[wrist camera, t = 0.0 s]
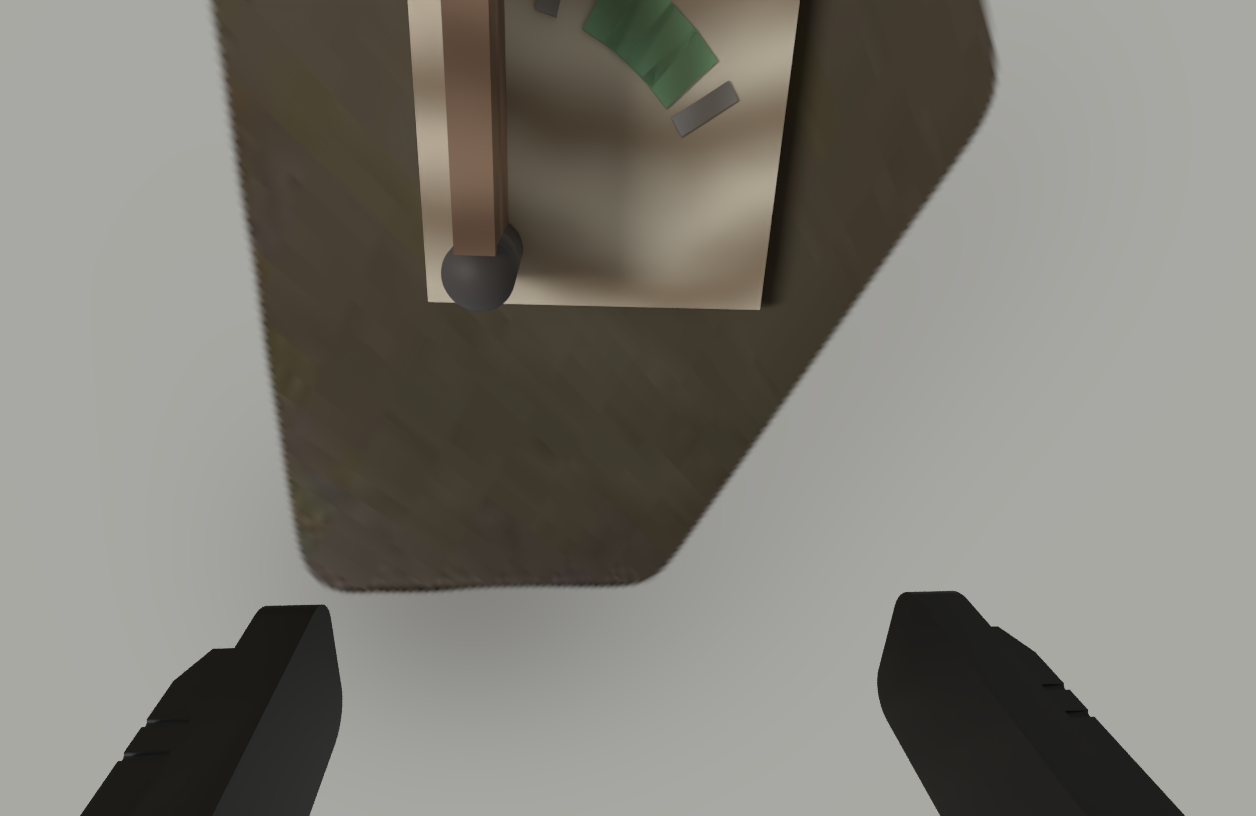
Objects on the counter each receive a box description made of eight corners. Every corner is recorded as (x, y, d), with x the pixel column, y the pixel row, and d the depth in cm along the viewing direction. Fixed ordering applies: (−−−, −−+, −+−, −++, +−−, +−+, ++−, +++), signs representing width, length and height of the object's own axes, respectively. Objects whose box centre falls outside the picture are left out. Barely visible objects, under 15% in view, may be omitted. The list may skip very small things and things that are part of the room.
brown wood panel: (444, -153, 27) (403, -258, 20) (518, -146, 27) (504, -246, 20) (464, 276, 34) (439, 317, 27) (523, 278, 34) (514, 318, 27)
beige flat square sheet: (405, -135, 29) (396, -149, 27) (802, -96, 31) (815, -108, 29) (433, 295, 36) (427, 302, 35) (752, 303, 38) (760, 310, 37)
